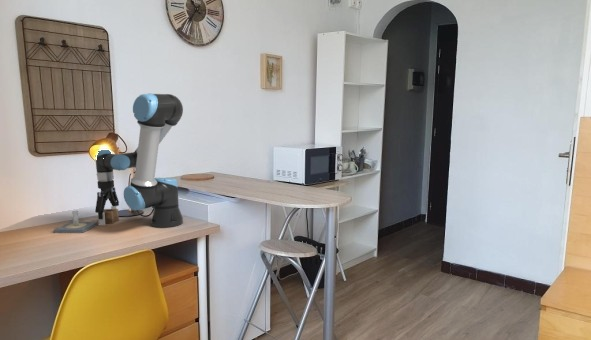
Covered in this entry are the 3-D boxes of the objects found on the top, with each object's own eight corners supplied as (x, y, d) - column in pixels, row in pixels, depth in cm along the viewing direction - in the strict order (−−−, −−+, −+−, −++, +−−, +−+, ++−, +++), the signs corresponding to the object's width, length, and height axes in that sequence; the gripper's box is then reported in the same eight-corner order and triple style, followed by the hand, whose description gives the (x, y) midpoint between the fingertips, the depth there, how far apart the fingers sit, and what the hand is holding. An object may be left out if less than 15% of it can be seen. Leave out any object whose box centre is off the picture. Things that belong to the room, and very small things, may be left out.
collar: (118, 220, 222) (118, 209, 221) (112, 224, 215) (111, 212, 214) (105, 220, 223) (104, 209, 222) (98, 224, 216) (97, 212, 215)
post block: (98, 224, 214) (96, 208, 213) (82, 232, 200) (81, 215, 199) (70, 224, 215) (69, 208, 214) (53, 232, 201) (51, 215, 200)
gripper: (110, 176, 228) (113, 215, 231) (85, 184, 204) (88, 228, 207) (123, 176, 228) (126, 215, 231) (100, 184, 203) (103, 228, 207)
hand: (108, 221), depth 219 cm, fingers open, 12 cm apart
